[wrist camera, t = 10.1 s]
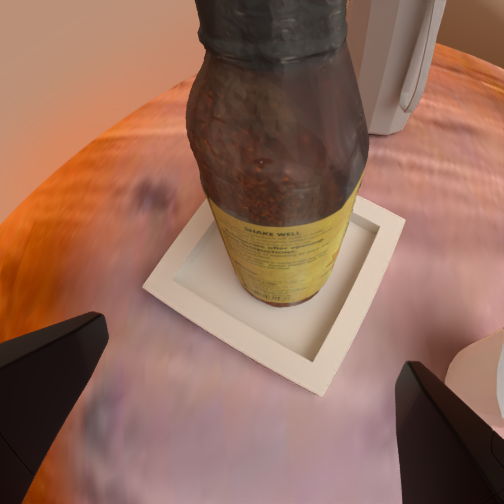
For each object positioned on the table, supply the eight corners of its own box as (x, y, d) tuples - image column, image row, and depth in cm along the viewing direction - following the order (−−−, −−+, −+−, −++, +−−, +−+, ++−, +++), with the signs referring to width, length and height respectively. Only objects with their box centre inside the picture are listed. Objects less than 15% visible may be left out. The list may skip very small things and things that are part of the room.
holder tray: (317, 395, 18) (322, 396, 16) (151, 294, 21) (142, 286, 20) (397, 231, 22) (405, 219, 20) (249, 161, 25) (247, 146, 24)
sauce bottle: (346, 282, 20) (497, -56, 2) (261, 328, 19) (154, -108, 1) (297, 205, 23) (308, -105, 4) (218, 243, 22) (104, -77, 4)
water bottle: (322, 93, 28) (331, -144, 5) (389, 90, 28) (428, -119, 5) (353, 160, 25) (404, -151, 2) (429, 154, 25) (516, -95, 2)
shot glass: (420, 375, 18) (478, 367, 11) (481, 317, 19) (540, 289, 12) (460, 446, 15) (520, 458, 9) (516, 384, 16) (577, 374, 10)
